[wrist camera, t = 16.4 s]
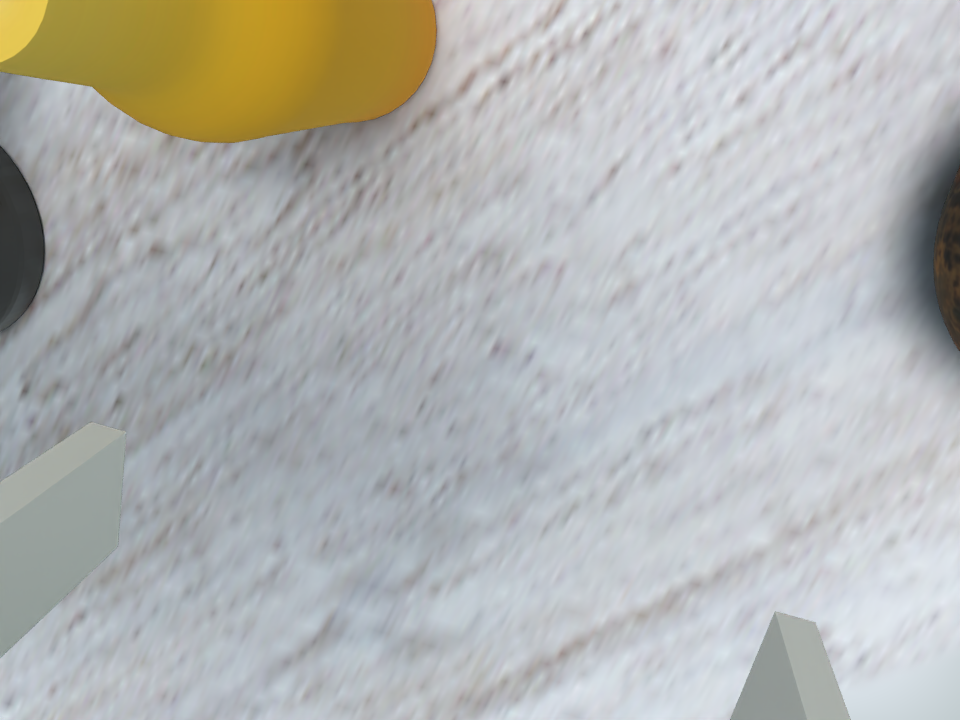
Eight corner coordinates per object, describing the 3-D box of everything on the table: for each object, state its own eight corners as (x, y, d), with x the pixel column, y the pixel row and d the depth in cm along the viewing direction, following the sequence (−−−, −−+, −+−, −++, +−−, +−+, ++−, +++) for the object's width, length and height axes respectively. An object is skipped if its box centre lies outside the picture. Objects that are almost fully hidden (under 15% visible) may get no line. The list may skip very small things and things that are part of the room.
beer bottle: (427, 134, 46) (156, 218, 19) (268, 104, 47) (-212, 142, 20) (453, -49, 43) (173, -263, 16) (282, -78, 44) (-267, -329, 17)
